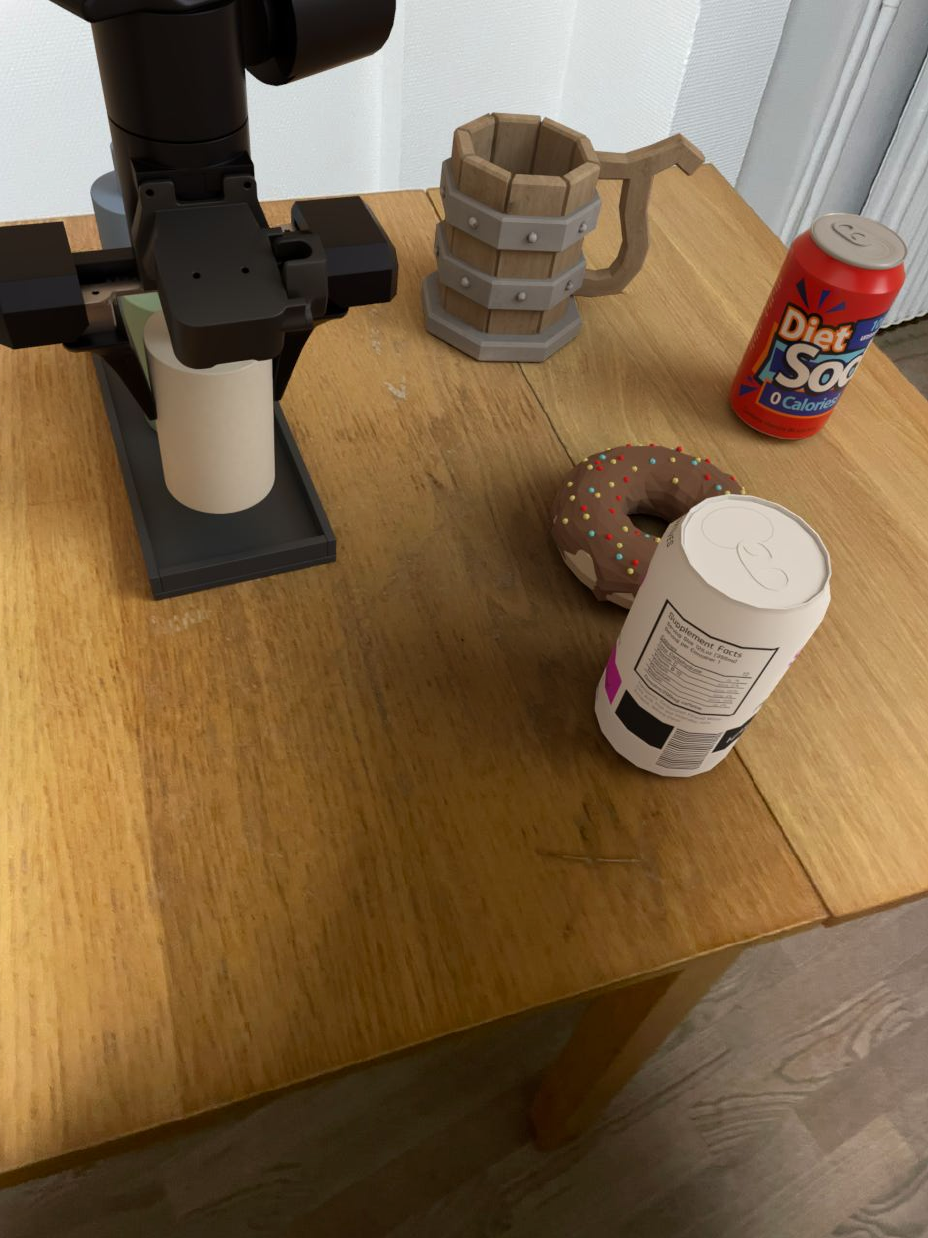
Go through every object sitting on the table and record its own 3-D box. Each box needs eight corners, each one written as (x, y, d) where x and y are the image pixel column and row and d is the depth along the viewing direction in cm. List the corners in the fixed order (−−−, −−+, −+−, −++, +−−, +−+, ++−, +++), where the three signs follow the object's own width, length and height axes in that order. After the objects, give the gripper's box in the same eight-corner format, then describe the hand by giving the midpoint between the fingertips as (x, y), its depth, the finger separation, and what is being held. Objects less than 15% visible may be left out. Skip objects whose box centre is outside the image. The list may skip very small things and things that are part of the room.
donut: (640, 667, 55) (664, 617, 51) (505, 523, 61) (518, 468, 57) (793, 576, 61) (825, 526, 57) (657, 453, 67) (677, 400, 63)
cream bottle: (176, 523, 52) (147, 328, 42) (155, 447, 55) (123, 250, 45) (287, 503, 54) (285, 314, 44) (259, 432, 57) (252, 240, 47)
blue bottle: (125, 349, 67) (88, 173, 56) (110, 298, 70) (73, 124, 60) (213, 337, 69) (193, 165, 58) (194, 289, 72) (172, 118, 62)
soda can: (773, 372, 75) (855, 196, 64) (842, 430, 72) (943, 255, 60) (704, 398, 72) (777, 218, 60) (772, 459, 69) (864, 281, 57)
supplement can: (569, 680, 54) (636, 502, 42) (687, 649, 56) (782, 472, 45) (630, 800, 50) (724, 638, 38) (756, 760, 52) (881, 597, 40)
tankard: (431, 361, 71) (452, 170, 59) (416, 270, 78) (431, 83, 67) (673, 366, 74) (739, 186, 63) (636, 277, 82) (688, 101, 70)
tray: (154, 601, 54) (149, 579, 52) (76, 299, 70) (71, 274, 69) (336, 561, 57) (336, 539, 56) (222, 282, 74) (219, 258, 72)
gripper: (-54, 235, 31) (54, 545, 43) (455, 191, 37) (422, 474, 49) (-73, 87, 37) (27, 396, 49) (367, 69, 43) (358, 349, 55)
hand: (214, 406), depth 50 cm, fingers closed on cream bottle, 6 cm apart
